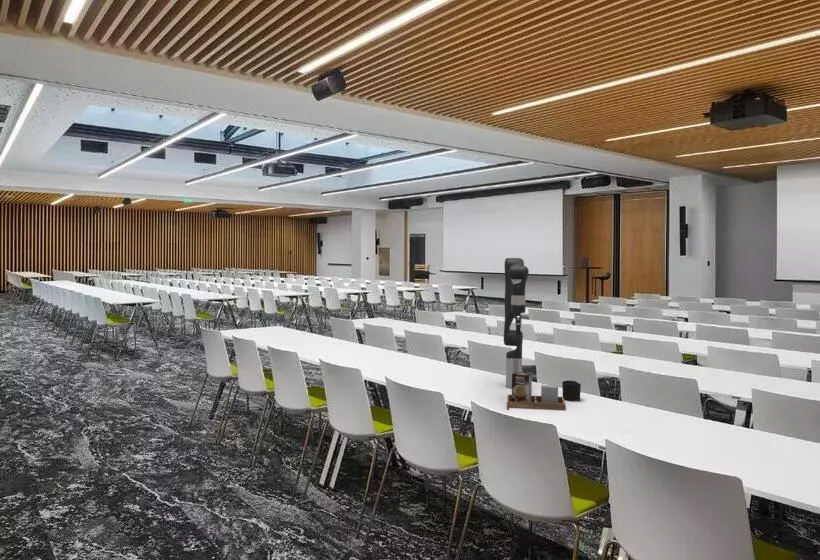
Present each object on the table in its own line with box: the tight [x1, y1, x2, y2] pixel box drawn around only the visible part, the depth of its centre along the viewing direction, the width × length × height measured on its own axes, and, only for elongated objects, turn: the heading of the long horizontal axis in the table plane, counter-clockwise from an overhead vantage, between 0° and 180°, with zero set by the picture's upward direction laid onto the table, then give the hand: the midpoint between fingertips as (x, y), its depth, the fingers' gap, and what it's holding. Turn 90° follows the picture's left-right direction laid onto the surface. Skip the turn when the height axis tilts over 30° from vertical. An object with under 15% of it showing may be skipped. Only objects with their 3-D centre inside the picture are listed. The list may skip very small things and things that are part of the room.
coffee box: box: [511, 371, 533, 402], centre depth 297 cm, size 9×6×16 cm
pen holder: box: [561, 380, 582, 402], centre depth 307 cm, size 9×9×10 cm
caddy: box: [506, 394, 567, 411], centre depth 296 cm, size 15×28×4 cm, turn 80°
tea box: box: [540, 384, 559, 404], centre depth 295 cm, size 5×8×10 cm, turn 80°
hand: (518, 333), depth 310 cm, fingers open, 8 cm apart
